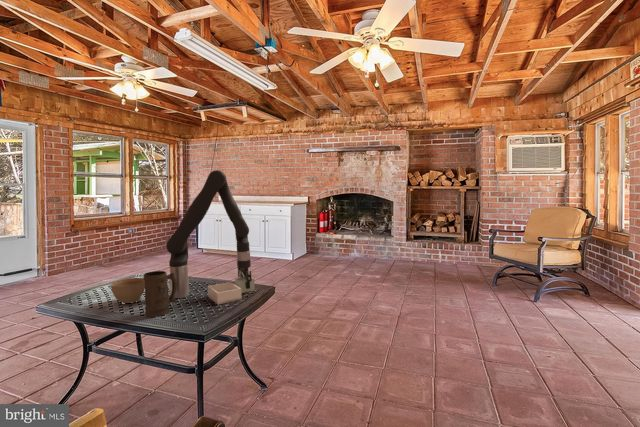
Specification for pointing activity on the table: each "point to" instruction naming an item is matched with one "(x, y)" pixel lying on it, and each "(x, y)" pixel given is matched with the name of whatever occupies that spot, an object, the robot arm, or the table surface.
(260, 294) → the table surface
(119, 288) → the planter bowl
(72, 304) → the table surface
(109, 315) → the table surface
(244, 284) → the small crate
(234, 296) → the big crate
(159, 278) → the beer stein
